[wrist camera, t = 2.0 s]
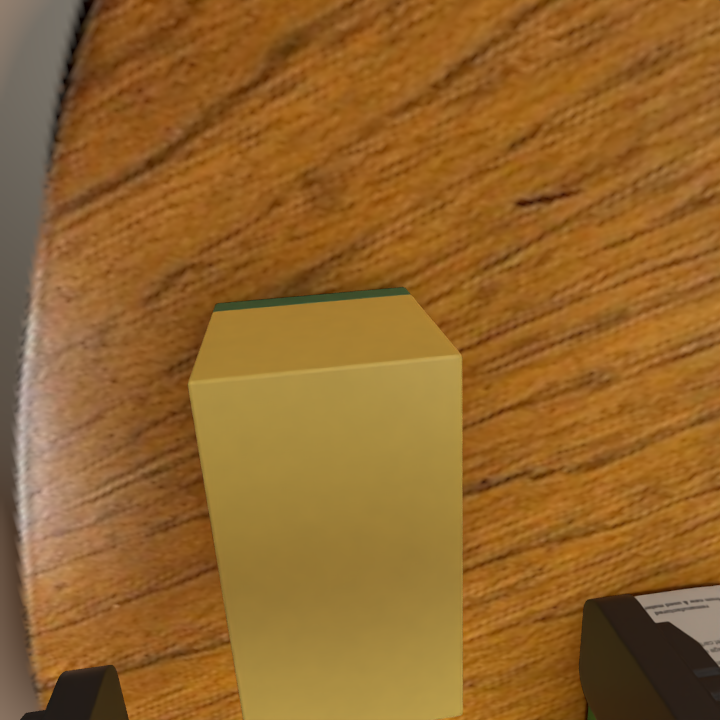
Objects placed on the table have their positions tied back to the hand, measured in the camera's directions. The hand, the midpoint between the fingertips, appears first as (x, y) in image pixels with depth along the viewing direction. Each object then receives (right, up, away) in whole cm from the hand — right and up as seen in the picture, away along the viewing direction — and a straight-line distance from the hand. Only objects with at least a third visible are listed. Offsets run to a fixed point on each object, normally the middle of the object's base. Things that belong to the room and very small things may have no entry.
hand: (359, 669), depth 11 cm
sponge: (-1, +3, +7) cm, 8 cm away
